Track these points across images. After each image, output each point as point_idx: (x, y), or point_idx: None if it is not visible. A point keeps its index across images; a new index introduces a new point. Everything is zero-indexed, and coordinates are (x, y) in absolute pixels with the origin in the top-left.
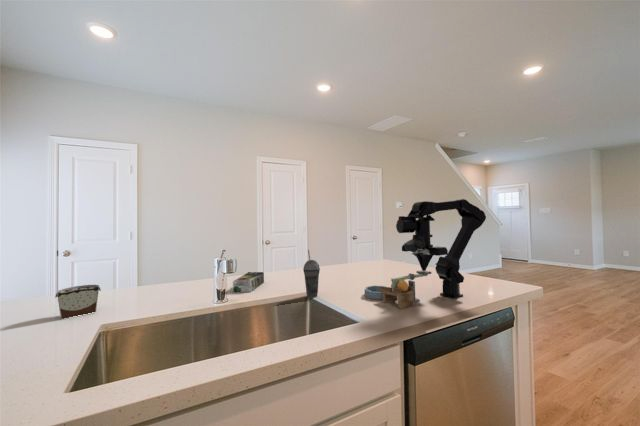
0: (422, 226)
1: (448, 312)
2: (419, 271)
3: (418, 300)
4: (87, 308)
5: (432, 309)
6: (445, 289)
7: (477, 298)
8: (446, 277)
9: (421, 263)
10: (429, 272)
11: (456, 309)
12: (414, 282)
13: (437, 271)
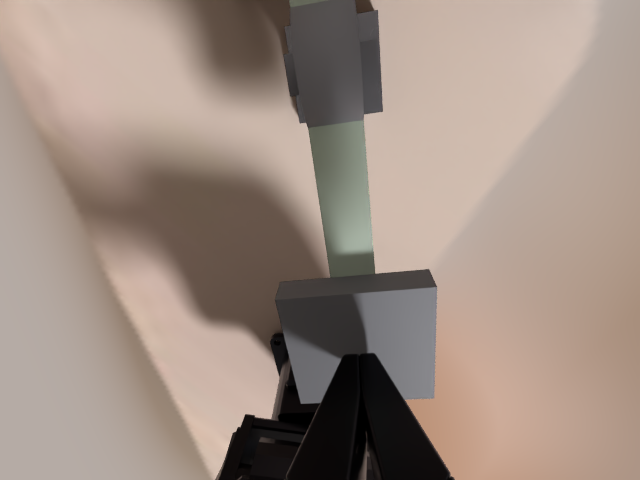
0: None
1: (57, 135)
2: (393, 308)
3: (298, 107)
4: None
5: (122, 77)
6: None
7: (239, 410)
8: (283, 440)
9: (377, 458)
10: (294, 373)
11: (104, 217)
12: (290, 87)
13: (372, 478)
